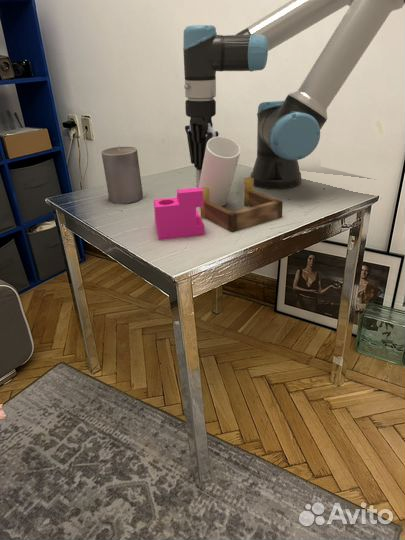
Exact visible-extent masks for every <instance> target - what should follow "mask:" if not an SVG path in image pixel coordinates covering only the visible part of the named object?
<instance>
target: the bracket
mask: <svg viewBox="0 0 405 540" xmlns="http://www.w3.org/2000/svg"><path fill="white" fill-rule="evenodd" d="M200 207H203V190H202V189H201V188H197V187H194V188H193V187H191V188H182V189H177V190H176V197H171V198H170V197H167V198H159V199H157V198H156V199H153V209H154V211H153V212H154V222H155V226H156V233H157V239H158V241H164V240H173V239H182V238H190V237H199V236H205V235H206V234H205V233H206V232H205V223H204V222H203V218H201V214H200V213H199V211H198V209H197V208H200Z"/></svg>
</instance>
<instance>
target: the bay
mask: <svg viewBox="0 0 405 540" xmlns="http://www.w3.org/2000/svg"><path fill="white" fill-rule="evenodd" d="M254 186H255V185H254V178H251V176H249V177H245V178H244V179H243V191H244V192H243V205H244V206H245V207H247V208H244V209H239V210H235V211H231V210H230V209H227V208H225V207H224V206H222V207H221V206H219V205H217V204H214V203H212V202H210V192H209V188H201V189H202V190H203V207H199V208H200V217H201V219H206V220H208V221H210V222H211V223H213V224H215V225H217V226H219V227H221V228H223V229H225V230H227V231H229V232H231V233H234V232H237V231H239V230H240V231H241V230H243V229H247V228H250V227H253V226H257V225H260V224H264V223H266V222H270V221H274V220H277V219H281V218H282V217H283V207H284V203H283V202H284V201H283V200H280V199H279V198H276V197H272V196H270V195H267V194H264V193H261V192H259V191H256V190H254V188H255V187H254Z"/></svg>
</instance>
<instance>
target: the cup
mask: <svg viewBox="0 0 405 540" xmlns="http://www.w3.org/2000/svg"><path fill="white" fill-rule="evenodd" d="M240 155H241V146H240V144H239V143H238V142H237V141H236V140H234V139H232V138H229V137H227V136H221V135H220V136H219V135H218V137H213V138H211V139H209V140H208V142H207V145H206V150H205V155H204V161H203V166H202V171H201V177H200V182H199V187H198V188H209V192H210V202H212V203H214V204H217V205H219V206H221V207H224V206H225V205H226V204H227V202H228V200H229V196H230V192H231V190H232V189H231V188H232V184H233V181H234V177H235V173H236V169H237V166H238V162H239V159H240Z"/></svg>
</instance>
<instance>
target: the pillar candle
mask: <svg viewBox="0 0 405 540" xmlns="http://www.w3.org/2000/svg"><path fill="white" fill-rule="evenodd" d="M101 157H102V164H103V170H104V175H105V176H104V177H105V181H106V188H107V195H108V201H109V202H110V203H111V202H112V204H116V205H126V204H131V203H136V202H138V201H141V200H142V199H143V198H144V197H143V196H144V195H143V193H144V191H143V185H142V178H141V170H140V169H141V168H140V164H139V163H140V162H139V154H138V149H137V148H136V147H133V146H115V147H111V148H105V149H104V150H102V151H101Z"/></svg>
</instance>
